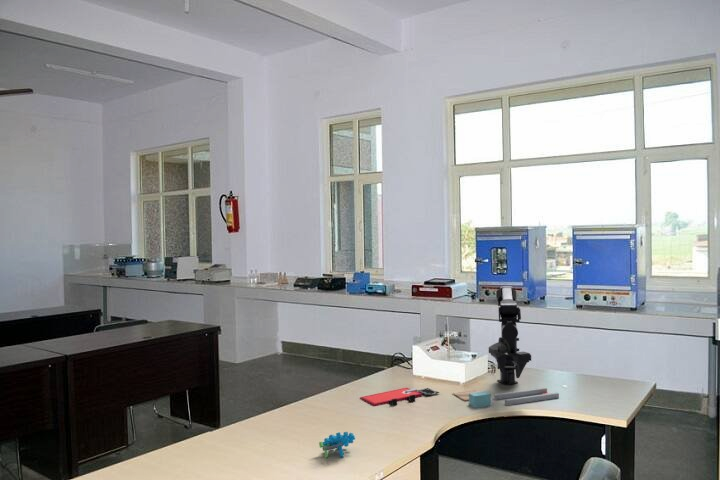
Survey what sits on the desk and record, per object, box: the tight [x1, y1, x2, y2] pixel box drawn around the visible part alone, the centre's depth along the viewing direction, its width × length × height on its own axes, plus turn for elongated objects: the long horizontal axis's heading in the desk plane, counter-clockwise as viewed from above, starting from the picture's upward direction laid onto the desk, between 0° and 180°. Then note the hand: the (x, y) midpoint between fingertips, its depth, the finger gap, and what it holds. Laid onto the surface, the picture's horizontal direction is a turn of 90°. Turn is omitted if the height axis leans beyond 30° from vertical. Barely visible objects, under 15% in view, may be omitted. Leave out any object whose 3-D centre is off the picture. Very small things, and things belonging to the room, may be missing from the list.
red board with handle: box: [359, 387, 440, 407], centre depth 221 cm, size 30×3×15 cm
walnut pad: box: [452, 389, 478, 402], centre depth 220 cm, size 10×10×1 cm
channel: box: [493, 387, 560, 406], centre depth 215 cm, size 8×24×2 cm, turn 109°
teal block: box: [468, 391, 492, 409], centre depth 209 cm, size 4×7×4 cm, turn 108°
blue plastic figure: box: [318, 431, 356, 459], centre depth 165 cm, size 11×6×10 cm
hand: (509, 375), depth 213 cm, fingers open, 9 cm apart
